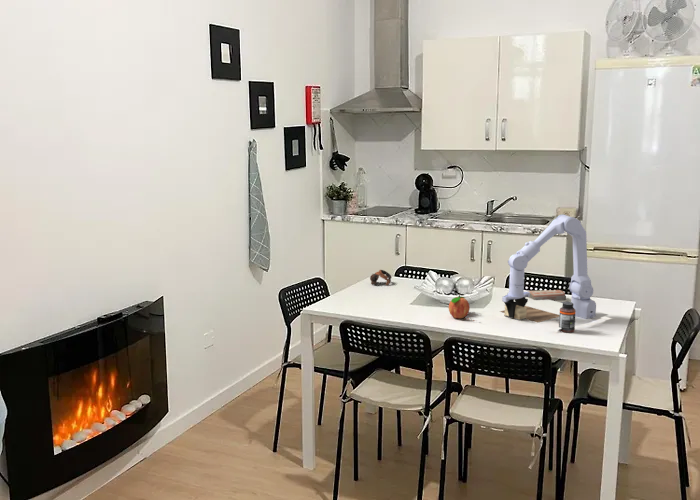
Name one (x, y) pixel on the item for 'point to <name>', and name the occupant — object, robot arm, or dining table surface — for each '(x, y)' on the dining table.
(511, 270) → the robot arm
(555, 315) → the walnut board
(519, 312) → the block
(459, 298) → the fruit
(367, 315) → the dining table surface
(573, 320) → the supplement bottle
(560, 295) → the packaged product
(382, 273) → the brown arch piece
